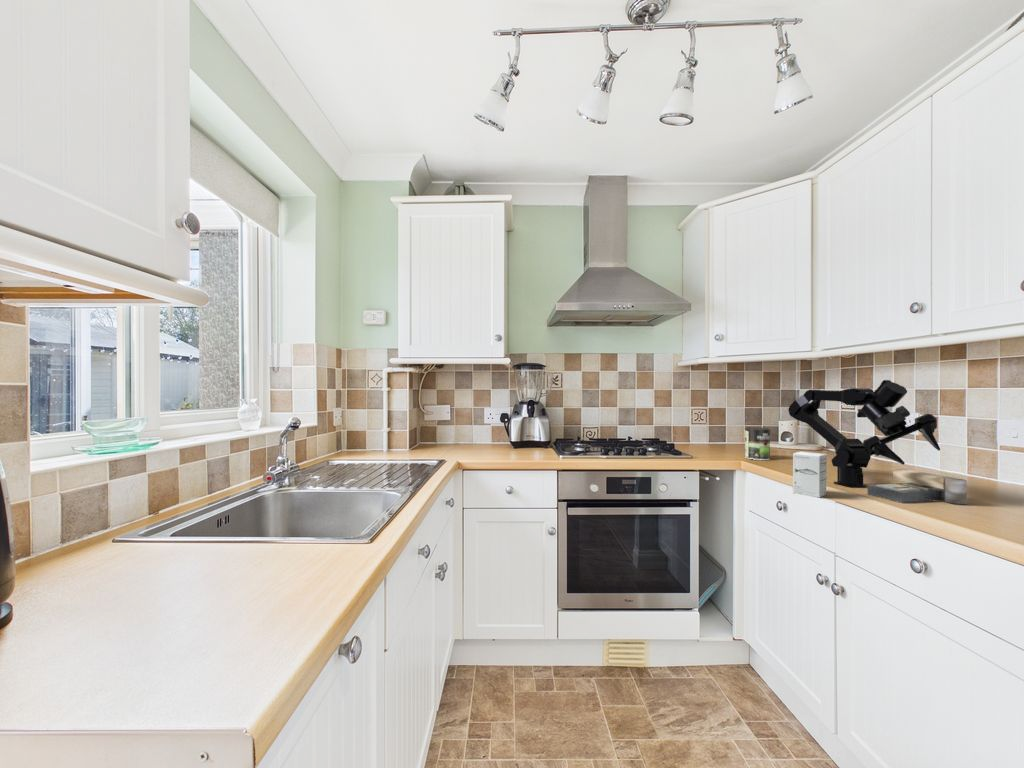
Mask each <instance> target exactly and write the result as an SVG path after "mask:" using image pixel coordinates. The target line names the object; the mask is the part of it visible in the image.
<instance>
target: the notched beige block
mask: <svg viewBox="0 0 1024 768" xmlns="http://www.w3.org/2000/svg"><path fill="white" fill-rule="evenodd" d="M892 480H896V481H901V482H904V483H915V484H920V485H925V486H930V487H936V488H941V489H945V500H944V502H947V503H949V504H956V505H967V480H966V479H964V478H963V479H962V478H957V477H951V476H945V475H939V474H934V473H927V472H921V471H916V470H910V469H904V468H902V469H900V468H899V469H892Z"/></svg>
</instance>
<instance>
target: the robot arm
mask: <svg viewBox="0 0 1024 768" xmlns="http://www.w3.org/2000/svg"><path fill="white" fill-rule="evenodd" d="M907 393H908V389H906V387H905V386H903V385H900V384H898V383H897V382H892V381H891V380H889V379H884V380H882V381H881V383H880V384H879V386H878V387H877V388H876V389H875V391H874V390H873V388H868V387H867V388H864V387H863V388H862V387H860V388H859V387H855V388H851V387H850V388H845V389H842V390H825V389H824V390H821V389H808V390H806V391H805V392H804V393H803V394H802V395H800V396H799V397H797V398H796V399H794V401H792V403H790V405H789V407H788V414H789V416H790V417H791V418H793V419H795V420H796V421H799V422H801V423H805V424H807V425H808V427H810V428H811V429H812V430H814V431H815V432H816V433H817V434H818V435H820V436H821V437H822V438H823V439H824V440H825V441H827V442H828V444H830V445H831V446H832V447H833V448H834V452H835V454H836V455H835V456H833V458H831V460H830V461H831V463H832V466H833V467H837V477H836V478H837V481H833V484H836V485H840V486H844V487H848V488H859V487H867V484H865V483H864V473H863V469H865V468H867V467H868V465H869V462H870V460H871V458H872V457H871V456H874V455H875V456H882V457H885V458H888V459H890V460H892V461H894V462H897V463H898V464H901V465H905V461H904V460H903V459H902V458H901V456H898V454H896V453H895V452H894V451H893V450H892V448H890V447H889V446H888V444H889V443H890V442H893V441H896V440H899V439H901V438H902V437H906V436H907V435H909V434H912V433H915V432H917V431H918V432H919V433H921V434H922V437H923V438H924V439H925V440H926V441H927V442H928V443H929V444H930V445H931V446H932V447H933V448H934V449H936V450H937V451H941V448H940V446H939V444H938V441H937V440H936V437H935V436H934V433H935V430H936V429H937V428H938V422H937V421H938V420H937V419H938V418H937V417H936V416H934V415H933V414H931V413H925V414H923V415H920V416H918V417H916V418H914V423H913V424H911V425H909V426H906V425H907V421H906V420H907V418H906V417H909V416H910V415H911V413H910V411H909V410H908V409H907V408H906V407H905V406H904V405H900V406H898V407H896V405H897V404H898V403H899V402H900V401H901V400H902V399H903V398H905V397H904V396H906V395H907ZM822 401H823V402H824V401H828V402H841V403H843V404H844V405H847V406H848V405H849V406H853V407H854V406H855V407H856V406H860V407H861V408H858V409H857V413H856V417H857V418H867V419H868V420H869V421H870V422H871V424H872V425H874V426H875V427H876V429H877V430H878V431H880V433H882V434H883V435H884V436H882V437H878V436H877V435H874V436H871V437H869V438H867V439H864V440H862V441H861V439H859V438H847V437H846V436H845V435H843V433H841V431H839V430H838V429H836V428H835V427H833V426H832V424H830V423H829V422H827V421H826V420H825V419H824V418H822V417H821V416H820V413H819V408H821V407H820V406H821V402H822ZM862 406H863V407H862ZM894 407H896V408H895V411H890V410H889V409H888V408H894Z"/></svg>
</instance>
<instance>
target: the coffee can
mask: <svg viewBox="0 0 1024 768" xmlns="http://www.w3.org/2000/svg"><path fill="white" fill-rule="evenodd" d="M770 445H771V429H770V428H766V427H744V456H745V457H744V459H746V458H747V459H746V460H750V459H753V460H752V461H761V460H763V461H771V446H770Z"/></svg>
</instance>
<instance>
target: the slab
mask: <svg viewBox="0 0 1024 768" xmlns="http://www.w3.org/2000/svg"><path fill="white" fill-rule="evenodd" d="M867 495H868V496H871V495H872V496H871V497H875V496H876V497H875V498H879V497H881V498H880V499H883V498H885V499H884V500H887V499H889V501H892V500H894V501H893V502H896V501H898V502H897V503H900V502H901V504H907V503H906V502H911V503H920V502H919V501H928V502H934V501H933V500H944V501H945V489H941V488H936V487H930V486H925V485H920V484H915V483H910V482H899V483H898V482H897V483H880V484H867Z"/></svg>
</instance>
